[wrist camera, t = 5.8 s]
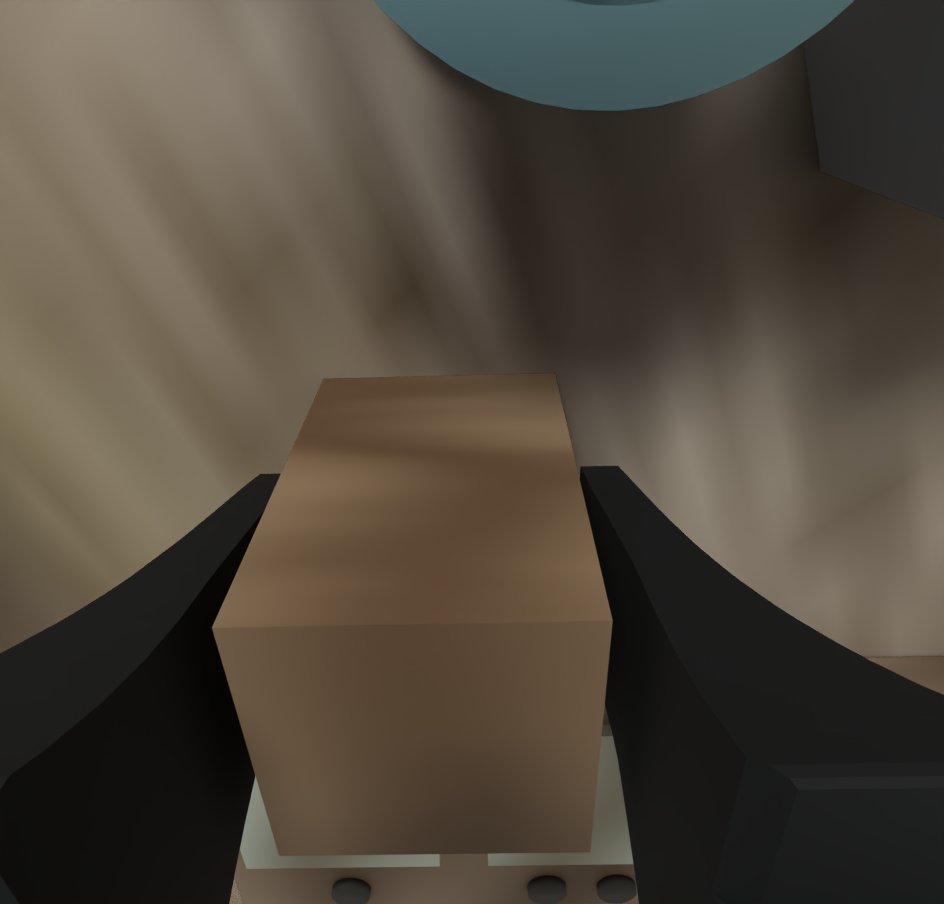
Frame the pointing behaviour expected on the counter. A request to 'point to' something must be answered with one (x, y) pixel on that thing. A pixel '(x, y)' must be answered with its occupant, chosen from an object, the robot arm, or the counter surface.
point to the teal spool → (610, 44)
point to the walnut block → (424, 625)
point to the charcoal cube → (882, 99)
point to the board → (477, 875)
